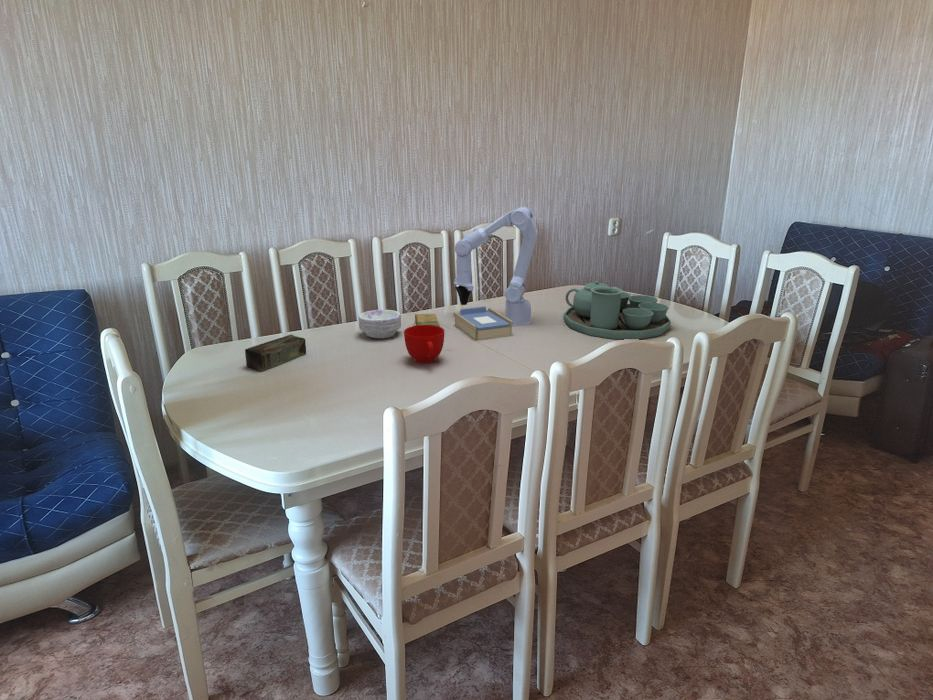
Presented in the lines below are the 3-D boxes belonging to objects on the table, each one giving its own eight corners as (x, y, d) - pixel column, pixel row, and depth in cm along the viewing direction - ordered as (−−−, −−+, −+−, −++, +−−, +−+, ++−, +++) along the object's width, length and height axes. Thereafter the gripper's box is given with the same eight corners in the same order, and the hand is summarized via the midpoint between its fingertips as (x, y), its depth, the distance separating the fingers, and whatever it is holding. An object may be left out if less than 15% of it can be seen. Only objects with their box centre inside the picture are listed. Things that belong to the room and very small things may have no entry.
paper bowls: (379, 326, 230) (378, 306, 227) (409, 333, 222) (409, 312, 219) (350, 336, 218) (349, 315, 215) (382, 344, 210) (381, 322, 207)
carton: (436, 323, 234) (436, 313, 233) (440, 336, 219) (440, 325, 218) (414, 324, 233) (414, 313, 232) (417, 337, 218) (417, 325, 217)
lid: (486, 312, 233) (486, 305, 232) (510, 326, 216) (510, 318, 215) (456, 315, 228) (456, 308, 227) (477, 330, 211) (477, 322, 210)
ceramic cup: (411, 373, 184) (410, 342, 181) (401, 355, 199) (400, 326, 196) (452, 369, 187) (451, 338, 184) (439, 351, 203) (439, 323, 199)
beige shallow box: (489, 322, 235) (489, 307, 233) (512, 336, 218) (513, 321, 216) (453, 326, 229) (453, 311, 227) (474, 342, 212) (474, 326, 210)
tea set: (683, 341, 214) (689, 296, 209) (571, 340, 215) (574, 295, 209) (652, 310, 252) (656, 271, 246) (557, 310, 252) (559, 271, 247)
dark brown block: (308, 354, 200) (306, 336, 198) (262, 373, 185) (260, 353, 182) (291, 350, 204) (289, 332, 202) (245, 368, 189) (242, 348, 186)
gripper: (447, 267, 237) (447, 301, 242) (461, 275, 225) (461, 310, 229) (463, 266, 240) (463, 299, 244) (478, 273, 227) (478, 308, 232)
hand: (463, 304), depth 237 cm, fingers closed
